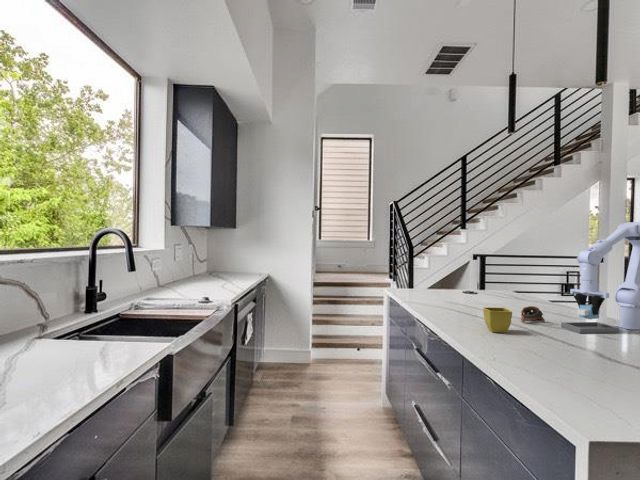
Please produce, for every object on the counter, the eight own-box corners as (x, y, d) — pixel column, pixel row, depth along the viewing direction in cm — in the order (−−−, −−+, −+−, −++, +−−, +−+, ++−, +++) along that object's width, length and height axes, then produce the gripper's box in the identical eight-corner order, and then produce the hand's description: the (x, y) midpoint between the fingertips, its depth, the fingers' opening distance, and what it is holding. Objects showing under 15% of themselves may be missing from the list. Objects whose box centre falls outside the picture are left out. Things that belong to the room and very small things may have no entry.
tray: (597, 326, 170) (597, 321, 170) (618, 333, 158) (618, 328, 158) (561, 327, 169) (561, 322, 169) (580, 333, 158) (580, 328, 158)
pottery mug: (551, 325, 175) (546, 310, 173) (531, 335, 175) (526, 320, 173) (533, 313, 187) (528, 298, 184) (515, 322, 187) (510, 308, 184)
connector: (590, 316, 168) (590, 304, 168) (601, 318, 164) (601, 305, 164) (575, 317, 164) (575, 305, 164) (586, 319, 160) (586, 307, 160)
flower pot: (504, 329, 166) (504, 307, 166) (512, 334, 157) (512, 311, 157) (482, 328, 167) (482, 307, 167) (489, 333, 158) (489, 310, 158)
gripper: (565, 278, 169) (565, 311, 169) (600, 282, 156) (600, 317, 156) (576, 278, 172) (576, 310, 172) (612, 281, 158) (612, 316, 158)
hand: (588, 313), depth 164 cm, fingers closed on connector, 4 cm apart
